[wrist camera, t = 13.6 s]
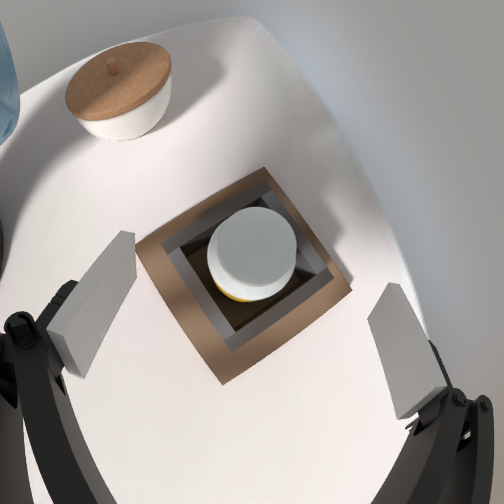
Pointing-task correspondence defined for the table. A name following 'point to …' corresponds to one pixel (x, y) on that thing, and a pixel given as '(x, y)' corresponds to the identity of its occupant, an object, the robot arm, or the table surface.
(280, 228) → the supplement bottle
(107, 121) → the lidded jar
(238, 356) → the wooden square holder
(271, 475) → the table surface
